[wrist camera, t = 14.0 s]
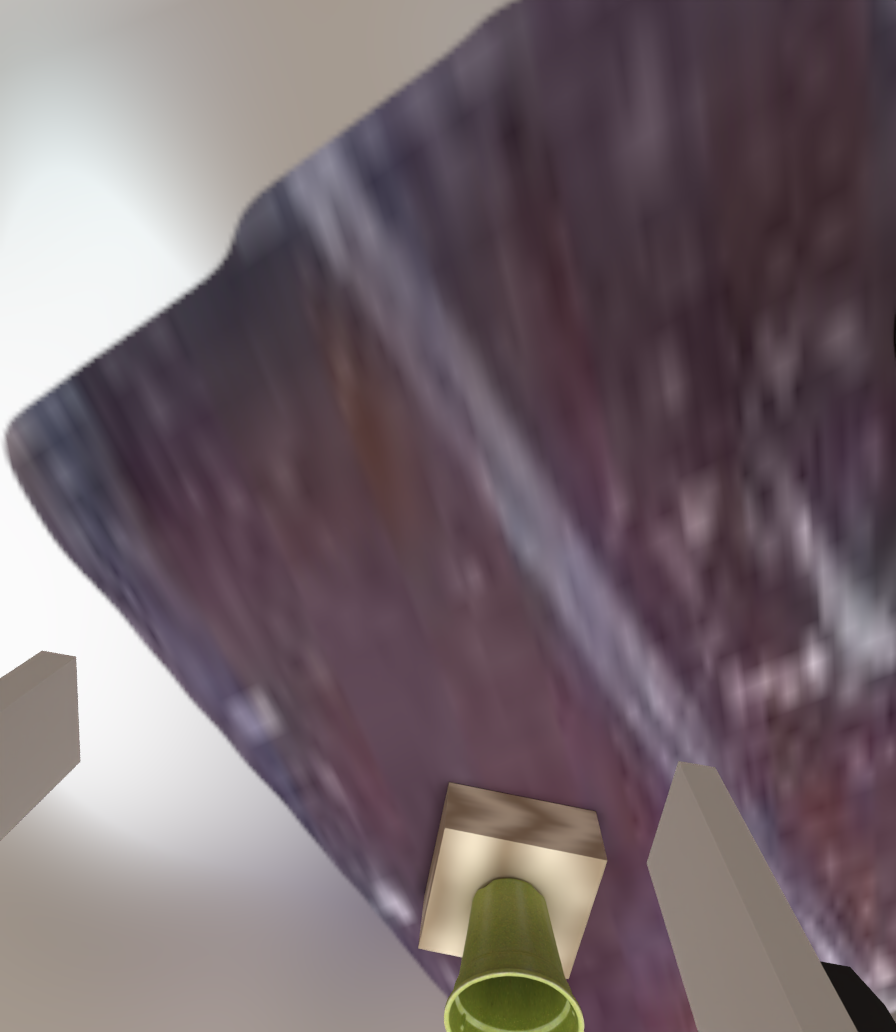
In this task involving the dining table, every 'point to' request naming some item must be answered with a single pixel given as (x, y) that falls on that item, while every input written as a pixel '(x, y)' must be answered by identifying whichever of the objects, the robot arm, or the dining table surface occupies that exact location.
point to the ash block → (511, 864)
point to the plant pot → (511, 967)
